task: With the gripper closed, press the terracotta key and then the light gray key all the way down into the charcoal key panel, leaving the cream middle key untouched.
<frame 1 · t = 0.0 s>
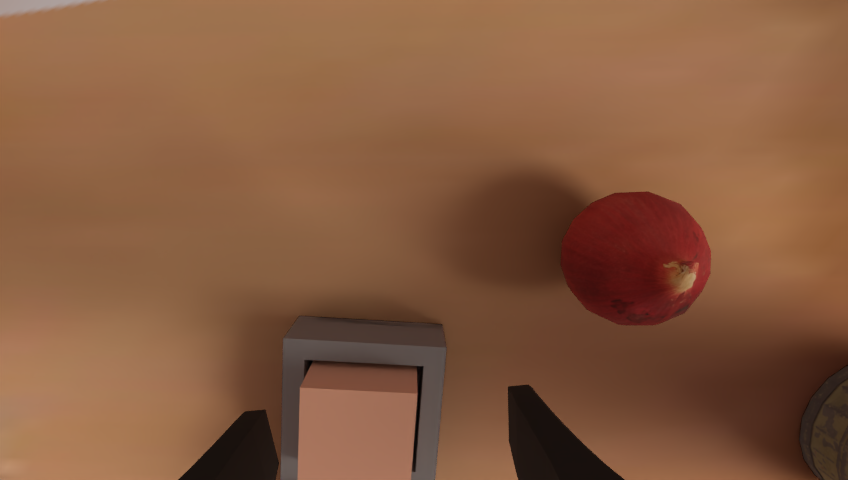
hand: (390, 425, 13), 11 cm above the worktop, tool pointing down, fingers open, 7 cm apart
onion: (594, 242, 23), on the worktop
terracotta key: (360, 424, 21), point 4 cm above the worktop, slide at 0.0 cm
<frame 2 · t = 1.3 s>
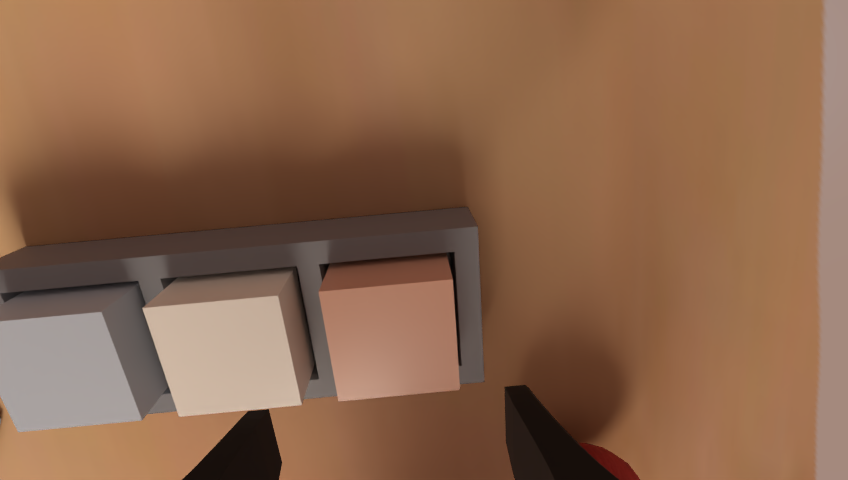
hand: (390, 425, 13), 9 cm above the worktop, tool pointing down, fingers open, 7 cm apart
light gray key: (82, 353, 18), point 4 cm above the worktop, slide at 0.0 cm
onion: (562, 446, 26), on the worktop
terracotta key: (393, 324, 18), point 4 cm above the worktop, slide at 0.0 cm
cream key: (238, 339, 18), point 4 cm above the worktop, slide at 0.0 cm
key panel: (264, 299, 22), on the worktop
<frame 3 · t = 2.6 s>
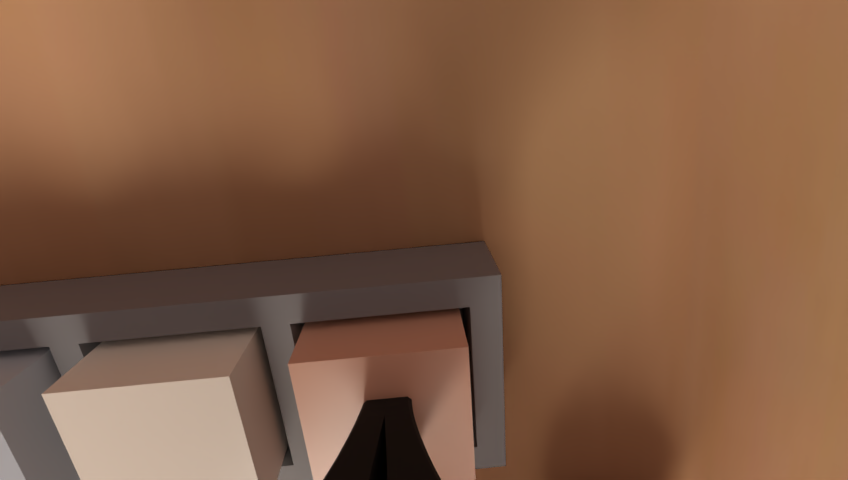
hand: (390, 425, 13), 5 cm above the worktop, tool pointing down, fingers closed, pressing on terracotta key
terracotta key: (389, 395, 14), point 3 cm above the worktop, slide at 0.3 cm, touching gripper
cream key: (184, 421, 14), point 4 cm above the worktop, slide at 0.0 cm
key panel: (227, 355, 17), on the worktop
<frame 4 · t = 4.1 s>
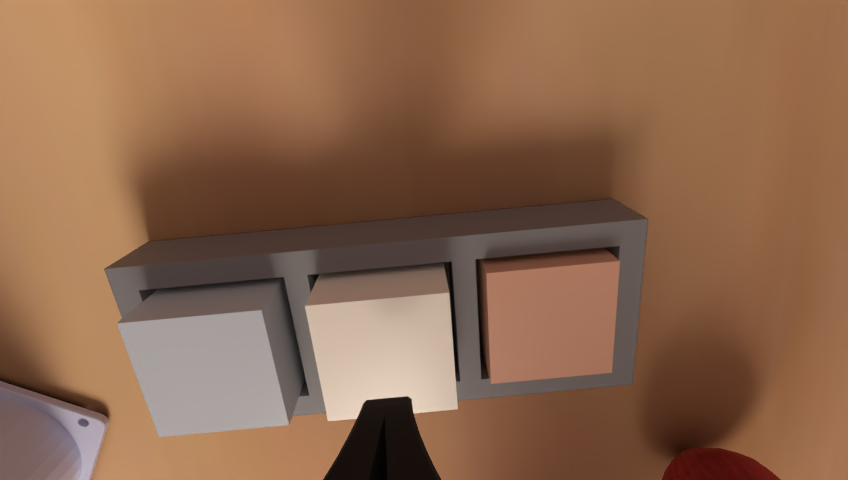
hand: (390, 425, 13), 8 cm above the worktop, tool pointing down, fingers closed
light gray key: (222, 354, 17), point 4 cm above the worktop, slide at 0.0 cm
onion: (682, 451, 25), on the worktop
terracotta key: (542, 308, 19), point 2 cm above the worktop, slide at 1.3 cm
cream key: (387, 339, 17), point 4 cm above the worktop, slide at 0.0 cm
key panel: (390, 296, 21), on the worktop
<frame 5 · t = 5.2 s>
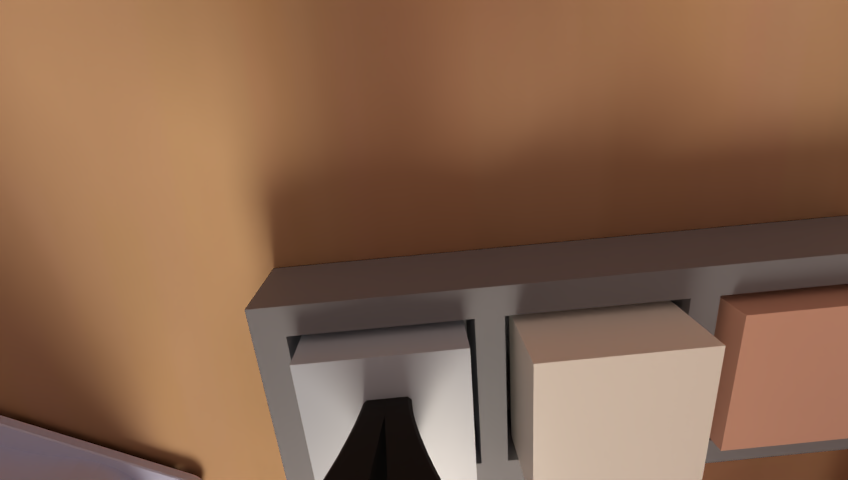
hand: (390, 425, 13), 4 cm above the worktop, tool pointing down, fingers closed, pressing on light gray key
light gray key: (391, 396, 14), point 3 cm above the worktop, slide at 1.0 cm, touching gripper
terracotta key: (776, 353, 15), point 2 cm above the worktop, slide at 1.3 cm
cream key: (601, 397, 13), point 4 cm above the worktop, slide at 0.0 cm
key panel: (561, 334, 17), on the worktop
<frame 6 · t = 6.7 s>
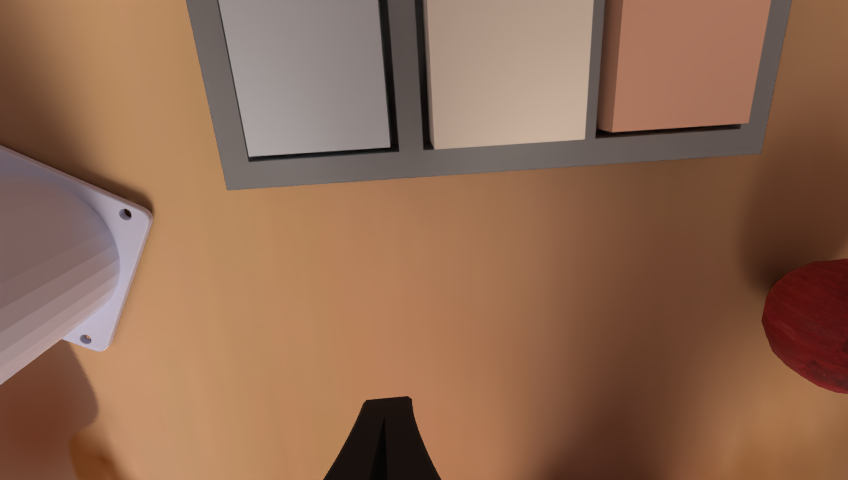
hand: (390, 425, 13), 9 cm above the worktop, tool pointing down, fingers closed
light gray key: (317, 77, 16), point 2 cm above the worktop, slide at 1.3 cm
onion: (777, 286, 23), on the worktop
terracotta key: (667, 55, 16), point 2 cm above the worktop, slide at 1.3 cm
cream key: (501, 64, 15), point 4 cm above the worktop, slide at 0.0 cm
key panel: (482, 67, 18), on the worktop
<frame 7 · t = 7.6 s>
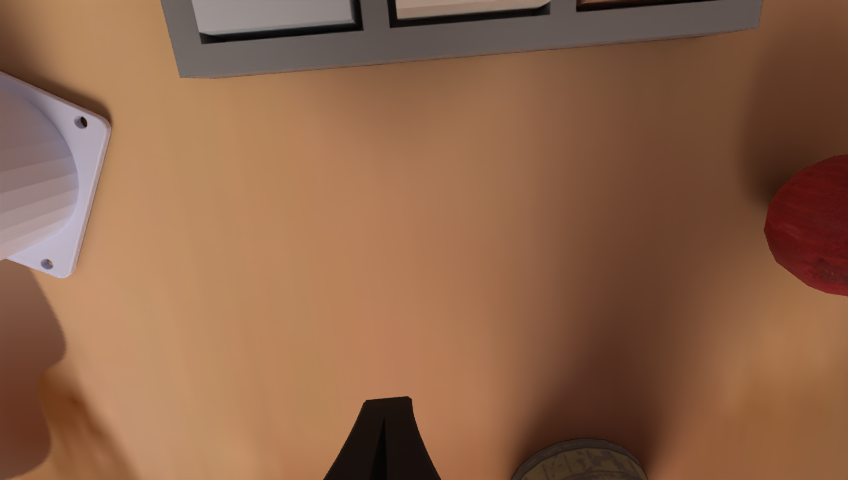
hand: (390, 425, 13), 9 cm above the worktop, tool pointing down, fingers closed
onion: (780, 201, 21), on the worktop
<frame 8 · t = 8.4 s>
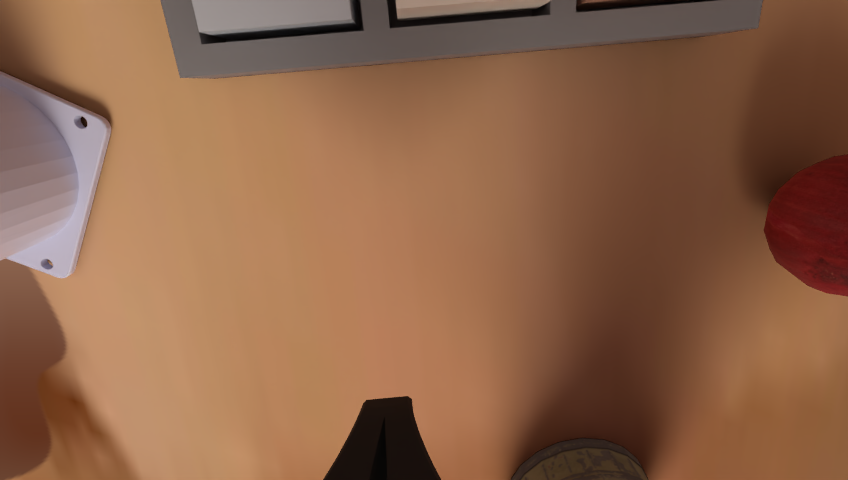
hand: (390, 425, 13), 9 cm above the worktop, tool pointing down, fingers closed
onion: (780, 201, 21), on the worktop
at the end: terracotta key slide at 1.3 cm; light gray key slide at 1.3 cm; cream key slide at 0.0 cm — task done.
